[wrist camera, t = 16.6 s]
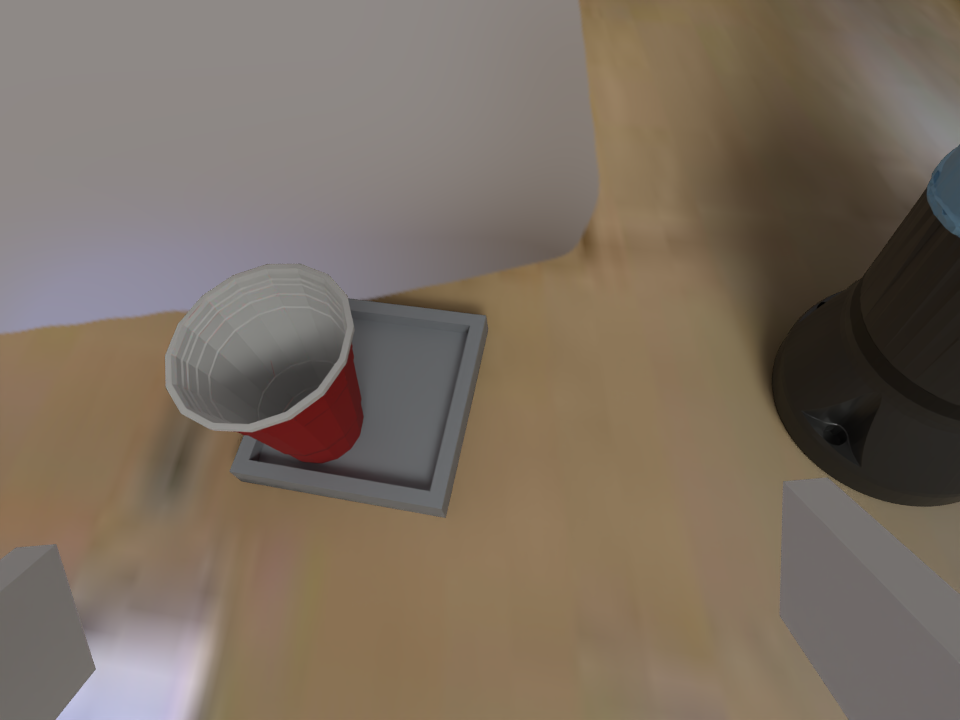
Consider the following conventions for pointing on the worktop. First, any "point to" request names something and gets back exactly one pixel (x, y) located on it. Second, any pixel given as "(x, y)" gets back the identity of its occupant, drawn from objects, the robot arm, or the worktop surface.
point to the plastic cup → (271, 362)
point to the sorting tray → (393, 413)
